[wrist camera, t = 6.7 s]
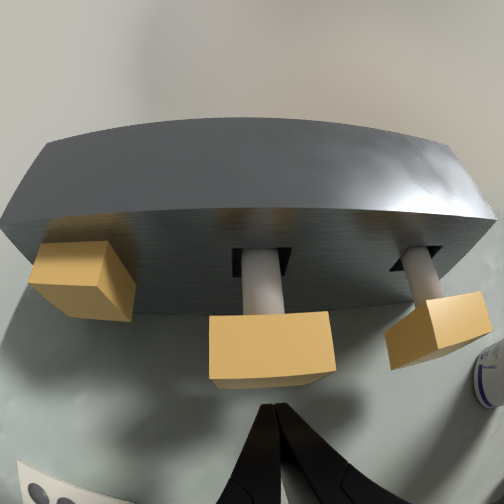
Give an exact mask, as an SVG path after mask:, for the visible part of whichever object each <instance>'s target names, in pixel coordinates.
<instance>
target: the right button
mask: <svg viewBox="0 0 504 504" xmlns="http://www.w3.org/2000/svg"><path fill="white" fill-rule="evenodd" d="M400 259H401V262H402V265H403V268H404V271H405V274H406V277H407V280H408V284H409V287H410V290H411V294H412V297H413V301H414V304H415V308H416V309H415V310H413V311H412V312H411V313H410V314H408V315H407V316H406V317H404V318H403V319H402V320H400V321H399V322H398V323H396V324H395V325H393V326H392V327H391V328H389V329H388V330H386V331H385V332H384V334H385V339H386V344H387V349H388V355H389V360H390V366H391V370H395V369H399V368H403V367H407V366H411V365H415V364H418V363H422V362H425V361H429V360H432V359H436V358H439V357H442V356H445V355H448V354H450V353H452V352H454V351H456V350H458V349H460V348H462V347H464V346H466V345H468V344H470V343H472V342H474V341H476V340H477V339H479V338H481V337H483V336H485V335H486V334H488V333H490V332H492V331H493V330H492V327H491V323H490V319H489V316H488V312H487V309H486V306H485V302H484V299H483V296H482V293H481V291H479V292H474V293H469V294H463V295H457V296H451V297H445V296H444V293H443V290H442V287H441V284H440V281H439V278H438V275H437V272H436V270H435V267H434V264H433V262H432V259H431V256H430V254H429V251H428V249H427V246H409V247H408V248H407V249H406V250H405V252H404V253H403V254H402V255H401V257H400Z"/></svg>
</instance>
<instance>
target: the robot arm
mask: <svg viewBox="0 0 504 504" xmlns="http://www.w3.org/2000/svg"><path fill="white" fill-rule="evenodd" d="M230 477H231V478H229V480H228V482H227V484H226V487H225V488H224V490H223V492H222V494H221V496H220V498H219V499H218V501H217V502H216V504H281V478H282V482H283V485H284V489H285V492H286V496H287V499H288V503H289V504H411V503H409V502H407V501H405V500H403V499H401V498H400V497H398V496H396V495H394V494H392V493H391V492H389V491H387V490H386V489H384V488H382V487H381V486H379V485H377V484H376V483H374V482H373V481H371V480H370V479H368V478H367V477H366V476H365V475H363V474H362V473H361V472H359V471H358V470H357V469H356V468H355V467H354V466H352V465H351V464H350V463H348V461H347V460H346V459H344V458H343V457H342V456H341V455H340V454H339V453H338V452H337V451H336V450H335V449H333V448H332V447H331V446H330V445H329V444H328V443H327V442H326V441H325V440H324V439H323V438H322V437H321V436H320V435H319V434H317V433H316V432H315V431H314V430H313V429H312V428H311V427H310V426H309V425H308V424H307V423H306V422H305V421H304V420H303V419H302V418H301V417H300V416H299V415H298V414H297V413H296V412H295V411H294V410H293V409H292V408H291V407H290V406H289V405H288V404H287V403H275V404H274V405H273V404H262V405H261V406H260V408H259V410H258V413H257V415H256V418H255V420H254V423H253V425H252V428H251V430H250V433H249V435H248V437H247V440H246V442H245V444H244V447H243V449H242V451H241V454H240V456H239V458H238V461H237V463H236V465H235V467H234V470H233V472H232V474H231V476H230ZM493 504H504V496H503V497H502V498H501V499H500V500H498V501H497V502H495V503H493Z"/></svg>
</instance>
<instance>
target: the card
mask: <svg viewBox="0 0 504 504" xmlns="http://www.w3.org/2000/svg"><path fill="white" fill-rule="evenodd" d="M17 467H18V475H19V481H20V488H21V493H22V498H23V503H24V504H135V503H133V502H129V501H125V500H121V499H117V498H113V497H109V496H106V495H102V494H99V493H96V492H93V491H90V490H87V489H84V488H81V487H78V486H76V485H73V484H70V483H68V482H65V481H63V480H60V479H58V478H56V477H53V476H51V475H49V474H47V473H44V472H42V471H40V470H38V469H36V468H34V467H32V466H30V465H28V464H26V463H24V462H23V461H21V460H17Z"/></svg>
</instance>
